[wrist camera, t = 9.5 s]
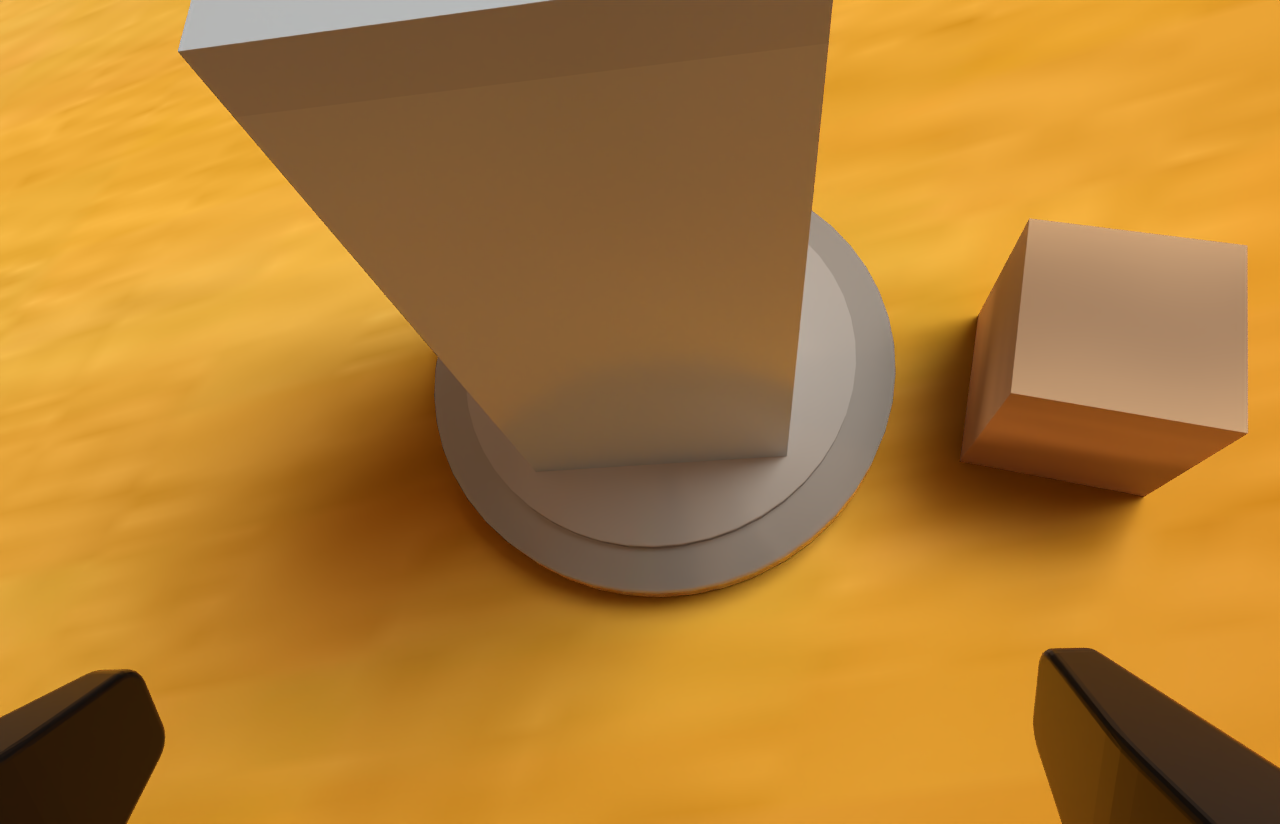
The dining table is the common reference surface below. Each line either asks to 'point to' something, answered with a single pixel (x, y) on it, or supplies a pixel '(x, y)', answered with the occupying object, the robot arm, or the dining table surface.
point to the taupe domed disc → (701, 463)
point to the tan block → (1109, 357)
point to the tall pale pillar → (559, 197)
